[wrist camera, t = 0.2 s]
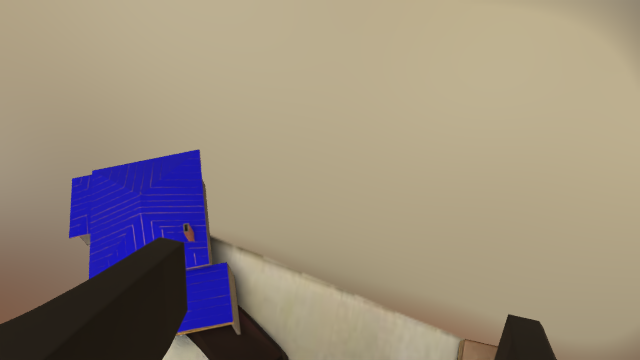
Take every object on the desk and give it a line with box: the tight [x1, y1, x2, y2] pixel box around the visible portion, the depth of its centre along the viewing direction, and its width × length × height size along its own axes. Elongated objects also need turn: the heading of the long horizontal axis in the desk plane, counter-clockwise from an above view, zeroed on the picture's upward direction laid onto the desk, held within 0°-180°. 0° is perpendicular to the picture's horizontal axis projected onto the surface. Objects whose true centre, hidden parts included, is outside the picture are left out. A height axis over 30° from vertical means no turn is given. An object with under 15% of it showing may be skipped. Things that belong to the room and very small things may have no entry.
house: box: [69, 150, 241, 336], centre depth 43 cm, size 11×14×6 cm
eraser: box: [186, 304, 288, 360], centre depth 44 cm, size 11×4×2 cm, turn 47°
